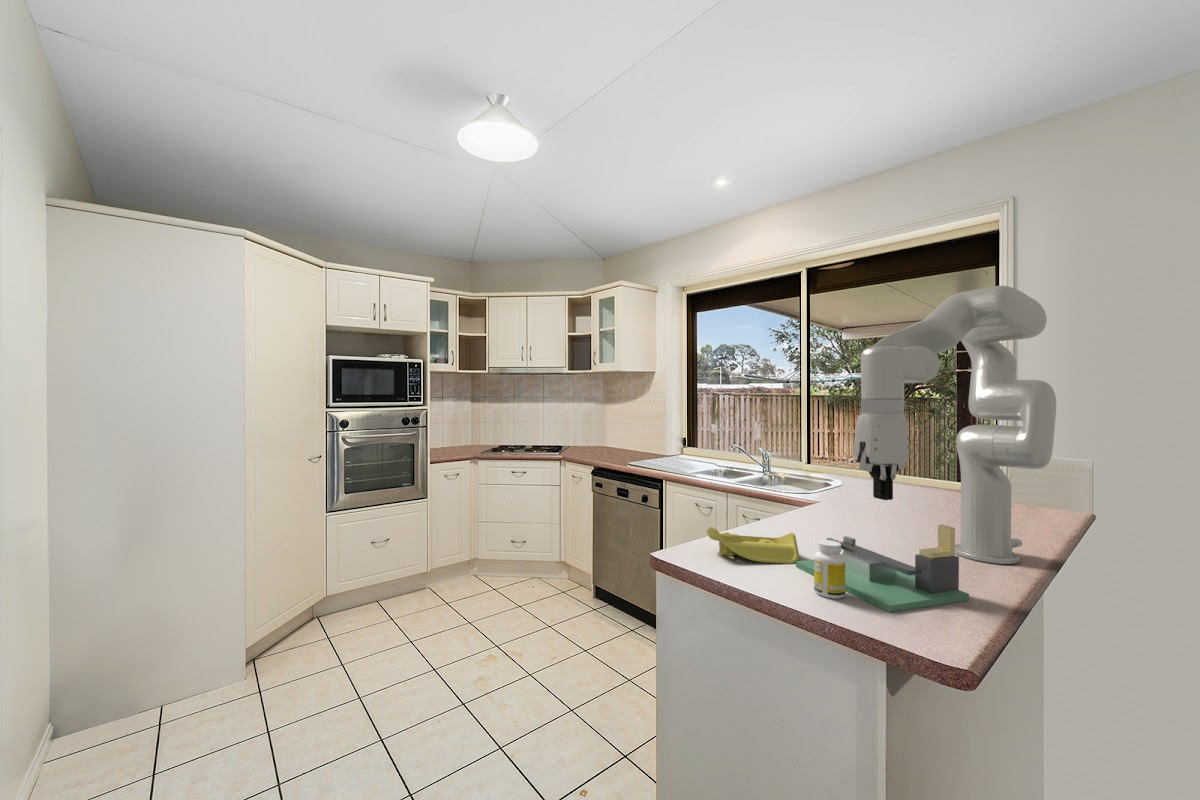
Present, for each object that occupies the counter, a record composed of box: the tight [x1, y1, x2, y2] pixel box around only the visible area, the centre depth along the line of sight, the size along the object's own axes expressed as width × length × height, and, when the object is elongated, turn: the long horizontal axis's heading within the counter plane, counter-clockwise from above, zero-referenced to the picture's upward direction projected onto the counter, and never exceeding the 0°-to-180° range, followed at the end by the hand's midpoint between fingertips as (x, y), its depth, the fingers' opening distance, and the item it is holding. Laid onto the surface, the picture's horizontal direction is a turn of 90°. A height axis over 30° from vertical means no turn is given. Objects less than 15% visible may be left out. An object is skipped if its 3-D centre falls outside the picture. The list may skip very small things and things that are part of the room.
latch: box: [918, 524, 956, 559], centre depth 92 cm, size 6×2×5 cm, turn 107°
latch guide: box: [914, 553, 960, 594], centre depth 92 cm, size 7×3×6 cm, turn 107°
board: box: [795, 535, 970, 613], centre depth 98 cm, size 19×24×6 cm
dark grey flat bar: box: [839, 541, 921, 575], centre depth 99 cm, size 3×18×1 cm, turn 17°
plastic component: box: [706, 526, 800, 565], centre depth 115 cm, size 20×7×10 cm
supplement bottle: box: [813, 539, 846, 600], centre depth 92 cm, size 5×5×10 cm
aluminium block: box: [841, 552, 897, 581], centre depth 100 cm, size 7×7×4 cm
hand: (883, 498), depth 97 cm, fingers closed
